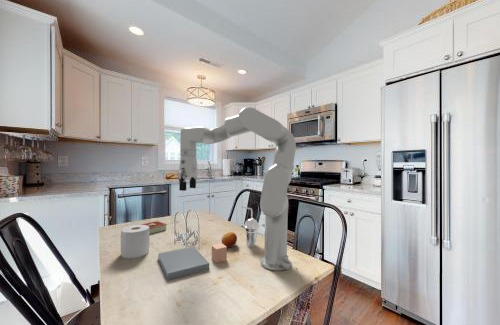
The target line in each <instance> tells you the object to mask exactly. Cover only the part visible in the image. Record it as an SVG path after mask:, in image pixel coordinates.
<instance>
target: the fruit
mask: <svg viewBox="0 0 500 325" xmlns="http://www.w3.org/2000/svg"><path fill="white" fill-rule="evenodd" d="M237 241H238V236H237V233H235V232H233V231H229V232H226V233H225V234H223V235H222V237H221V243H222V244H224V245H225V246H226V247H227V248H234V246H235V245H237Z"/></svg>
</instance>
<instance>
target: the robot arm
mask: <svg viewBox="0 0 500 325" xmlns="http://www.w3.org/2000/svg"><path fill="white" fill-rule="evenodd" d="M251 132H252V133H254V134H256V135H257V136H259V137H261V138H263V139H264V140H266V141H268V142H271V143H273V144H275V150H274V156H273V161H272V165H271V166H270V167H269V168H268V169H267V170H266V172H265V173H264V178H263V184H262V189H261V194H260V201H259V206H260V207H259V208H260V209H261V212H262V213H263V214H264V215H265V217H264V256H263V257H261V259H260V265H261V266H262V267H263V268H265V269H266V270H270V271H277V272H278V271H284V270H289V269H290V267H291V266H292V265H293V262H292V261H291V260H290V258H289V255H288V216H289V215H288V214H289V198H288V195H287V193H288V188H289V185H290V183H291V181H292V177H293V169H294V163H295V157H296V156H295V155H296V145H297V142H296V139H295V136H294V134H293V133H292V132H291V131H290V130H289V129H288V127H285V126H284V125H283V124H282V123H281V122H279V120H277V119H275V118H273V117H271V116H270V115H267V114H266V113H263V112H261V111H260V110H258V109H256V108H255V107H253V106H248V107H244V108H241V110H240V111H239V113H238V114H237V115H234V116H231V117H227V118H225V119H224V123H223V124H222V125H220V126H217V127H214V128H211V129H210V128H207V127H204V126H193V127H183V128H181V129H180V134H179V135H180V140H179V141H180V148H179V149H180V151H179V152H180V153H179V154H180V155H179V156H180V158H179V159H180V160H179V168H178V169H179V171H178V172H177V177H178V178H177V179H178V182H179V191H183V192H184V191H185V192H186V191H187V178H188V179H189V189H196V188H197V177H198V161H197V143H198V144H205V145H212V144H216V143H220V142H224V141H226V140H228V139H230V138H233V137H236V136H240V135H242V134H247V133H251Z"/></svg>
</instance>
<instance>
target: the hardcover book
mask: <svg viewBox="0 0 500 325" xmlns="http://www.w3.org/2000/svg"><path fill="white" fill-rule="evenodd" d="M140 225H147V226H149V235H151V234H156V233H159V232H162V231H166V230H167V226H168V224H167V223H165V222H161V221H159V220H156V221H155V220H154V221H152V222H151V221H150V222H146V223H142V224H140Z"/></svg>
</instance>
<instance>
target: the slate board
mask: <svg viewBox="0 0 500 325" xmlns="http://www.w3.org/2000/svg"><path fill="white" fill-rule="evenodd" d="M157 259H158V261H159V264H160V266H161V268H162V271H163V272H164V276H165V277H166V279H167V281H169V280H170V281H171V280H173V279H177V278H181V277H185V276H189V275H191V274H192V275H193V274H197V273H201V272H204V271H207V270H210V262H209V261H208V260H207V259H206V258H205V257H204V256H203V255H202V254H201V252H199V250H198V249H197V248H196V246H188V247H184V248H179V249H174V250H170V251H165V252H159V253H157Z"/></svg>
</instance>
